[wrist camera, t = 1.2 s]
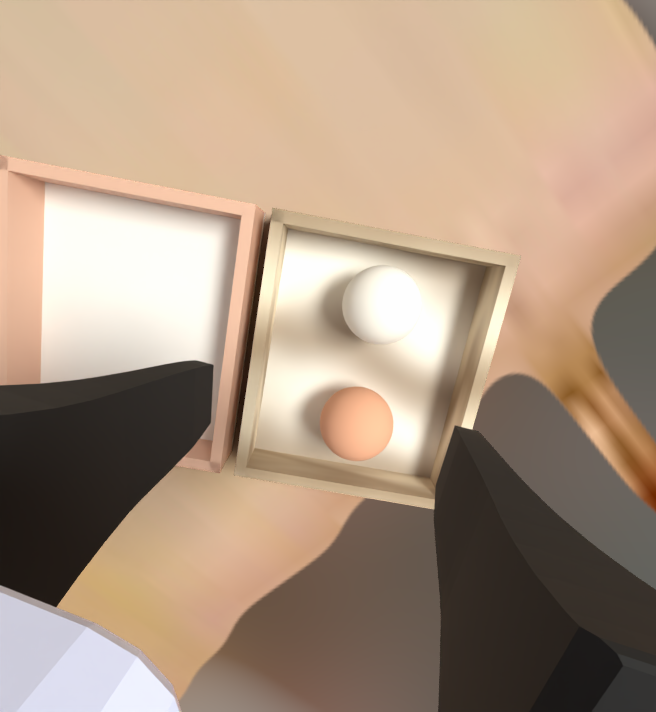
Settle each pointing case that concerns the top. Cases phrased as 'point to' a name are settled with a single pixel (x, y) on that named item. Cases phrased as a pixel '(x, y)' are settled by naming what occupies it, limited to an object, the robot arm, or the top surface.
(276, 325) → the box
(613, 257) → the top surface
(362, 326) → the cream ball
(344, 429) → the terracotta ball
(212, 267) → the peach open box
